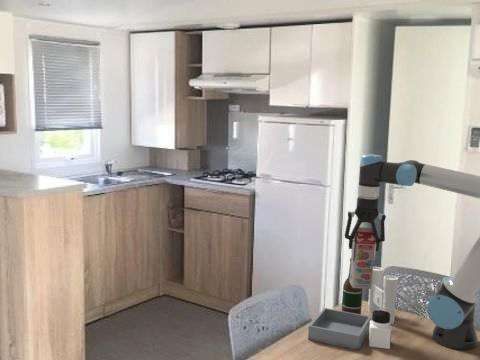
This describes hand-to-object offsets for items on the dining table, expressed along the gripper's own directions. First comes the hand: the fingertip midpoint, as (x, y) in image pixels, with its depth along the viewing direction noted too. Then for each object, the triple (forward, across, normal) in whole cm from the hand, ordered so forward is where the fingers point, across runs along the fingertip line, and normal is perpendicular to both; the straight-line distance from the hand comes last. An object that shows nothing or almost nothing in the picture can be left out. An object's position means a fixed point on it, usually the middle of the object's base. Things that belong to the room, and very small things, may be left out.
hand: (362, 258), depth 201 cm
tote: (+28, +6, +5) cm, 29 cm away
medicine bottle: (+28, -7, +11) cm, 31 cm away
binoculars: (+28, -11, -16) cm, 34 cm away
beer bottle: (+28, +1, -14) cm, 31 cm away
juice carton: (+11, 0, 0) cm, 11 cm away
